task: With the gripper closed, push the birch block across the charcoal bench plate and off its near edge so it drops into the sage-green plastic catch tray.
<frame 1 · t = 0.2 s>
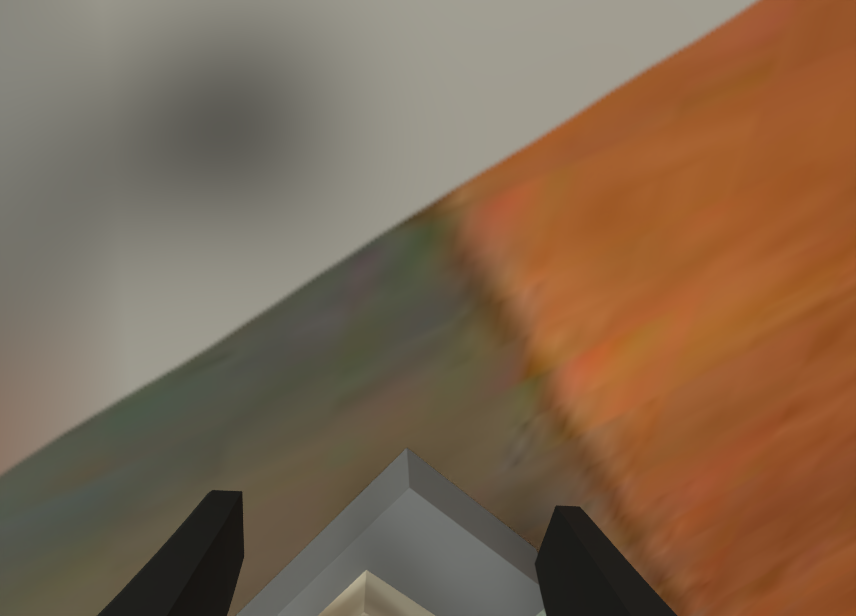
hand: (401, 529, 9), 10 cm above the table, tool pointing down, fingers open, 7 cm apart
bench plate: (386, 582, 23), on the table
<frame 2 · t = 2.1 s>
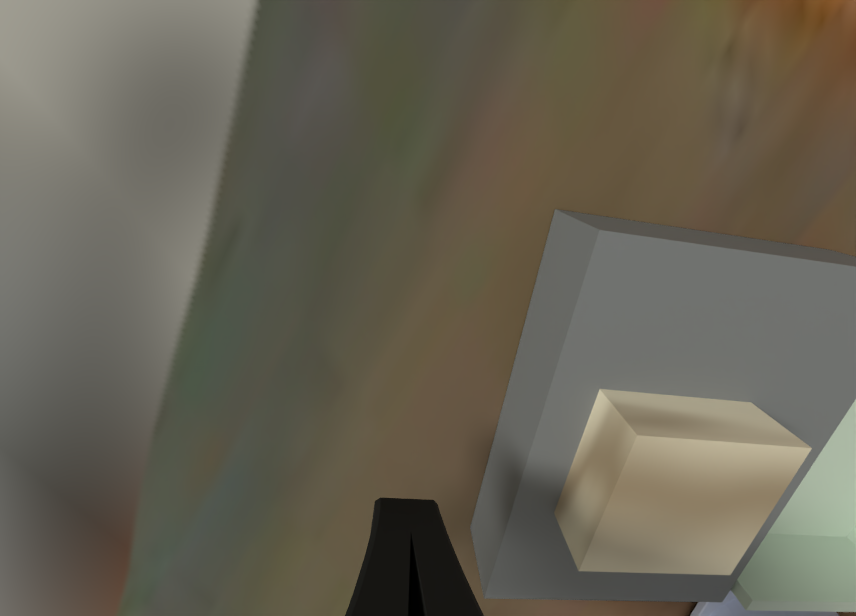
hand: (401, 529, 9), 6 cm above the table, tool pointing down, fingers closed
catch tray: (834, 423, 17), on the table
bench plate: (627, 405, 16), on the table
birch block: (666, 484, 12), point 4 cm above the table, touching bench plate
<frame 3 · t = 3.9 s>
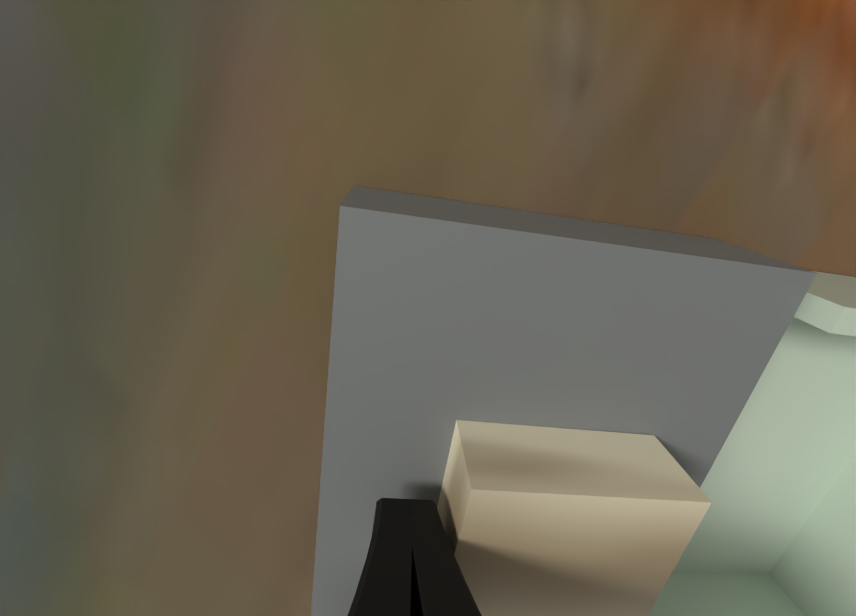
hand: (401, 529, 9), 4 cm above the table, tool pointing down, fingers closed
catch tray: (744, 445, 15), on the table
bench plate: (489, 427, 13), on the table
birch block: (545, 539, 10), point 4 cm above the table, touching bench plate, gripper
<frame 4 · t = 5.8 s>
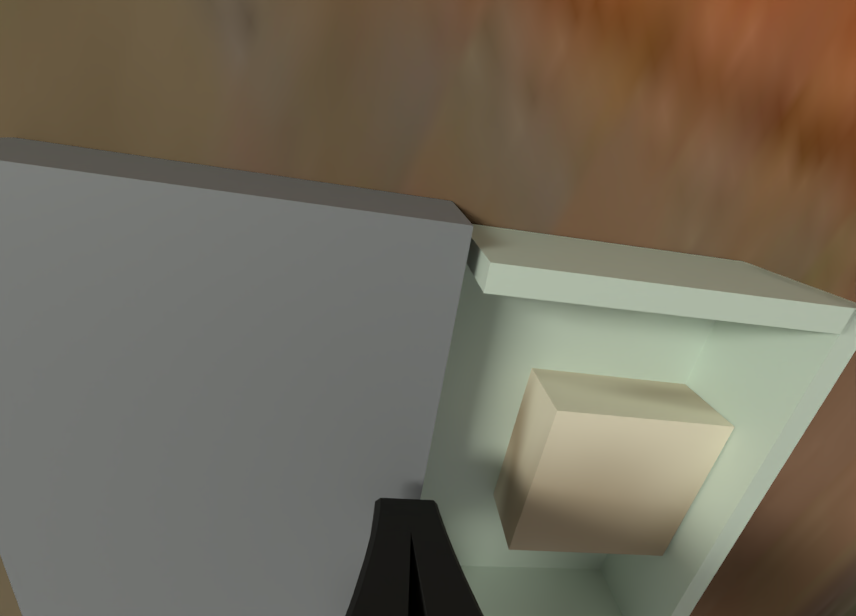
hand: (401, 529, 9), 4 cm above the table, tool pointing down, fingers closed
catch tray: (547, 431, 14), on the table
bench plate: (251, 410, 12), on the table
birch block: (599, 464, 12), point 2 cm above the table, tilted 180°, touching catch tray
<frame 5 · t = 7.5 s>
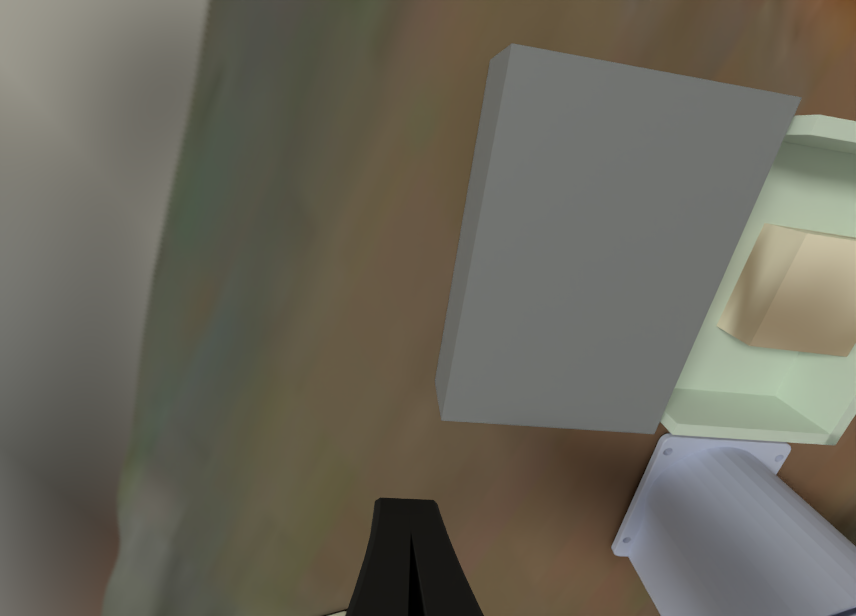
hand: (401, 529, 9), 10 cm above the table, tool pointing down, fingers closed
catch tray: (755, 280, 20), on the table
bench plate: (567, 257, 18), on the table
birch block: (806, 291, 18), point 2 cm above the table, tilted 180°, touching catch tray
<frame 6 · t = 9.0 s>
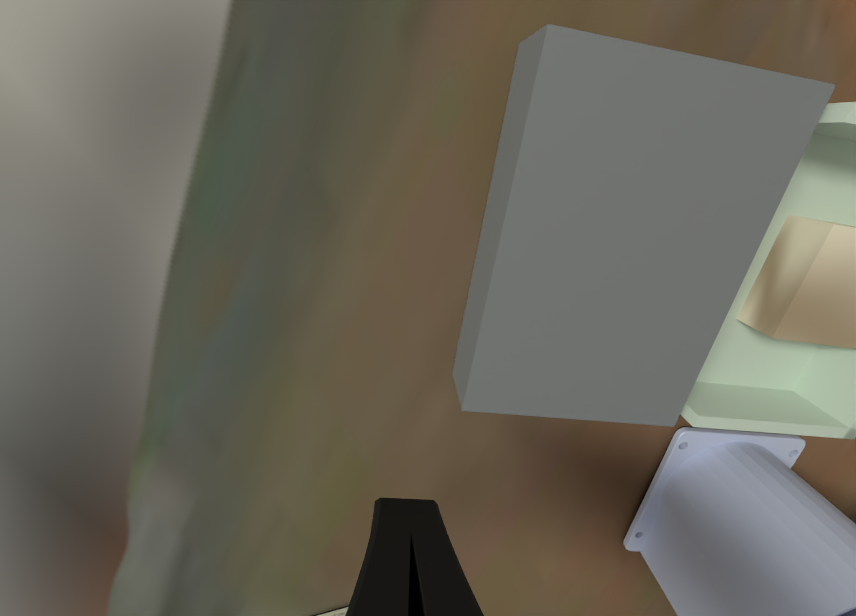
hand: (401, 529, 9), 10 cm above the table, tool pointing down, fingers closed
catch tray: (775, 273, 19), on the table
bench plate: (589, 248, 18), on the table
birch block: (828, 283, 18), point 2 cm above the table, tilted 180°, touching catch tray
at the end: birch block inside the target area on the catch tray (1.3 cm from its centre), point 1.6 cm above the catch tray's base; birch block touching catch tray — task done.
